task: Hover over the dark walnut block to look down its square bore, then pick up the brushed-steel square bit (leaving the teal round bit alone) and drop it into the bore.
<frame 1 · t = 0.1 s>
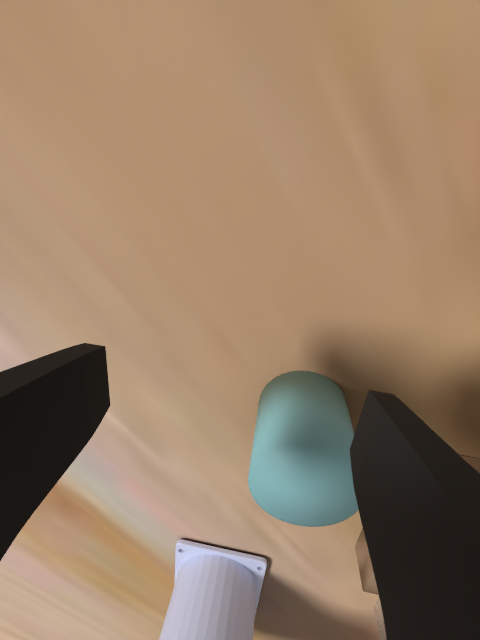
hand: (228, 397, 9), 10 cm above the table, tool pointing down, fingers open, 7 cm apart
walnut bore block: (453, 516, 22), on the table
round bit: (301, 407, 21), on the table
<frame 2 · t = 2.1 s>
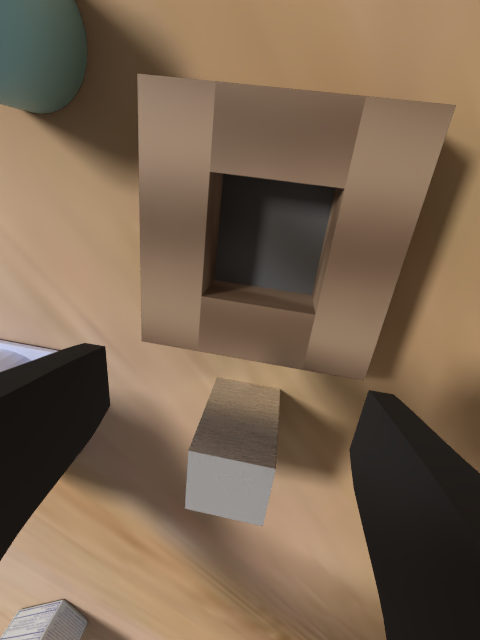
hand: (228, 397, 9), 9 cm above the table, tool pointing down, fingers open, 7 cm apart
walnut bore block: (270, 236, 16), on the table
medicine box: (55, 611, 36), on the table
round bit: (28, 39, 14), on the table
square bit: (244, 408, 21), on the table
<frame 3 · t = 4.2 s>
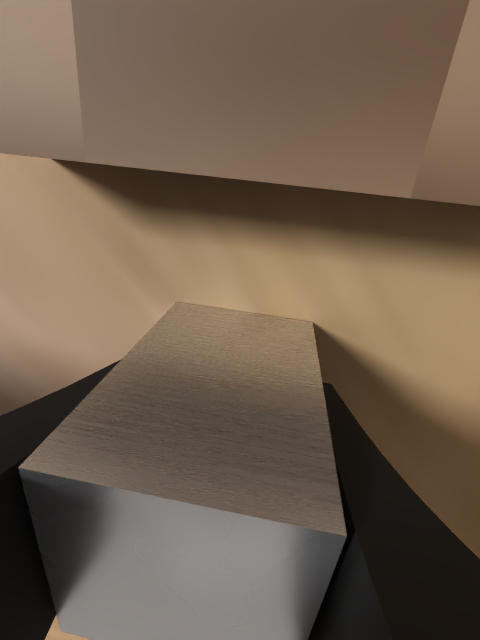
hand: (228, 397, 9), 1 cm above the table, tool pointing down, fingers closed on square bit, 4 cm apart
square bit: (236, 369, 10), on the table, touching gripper
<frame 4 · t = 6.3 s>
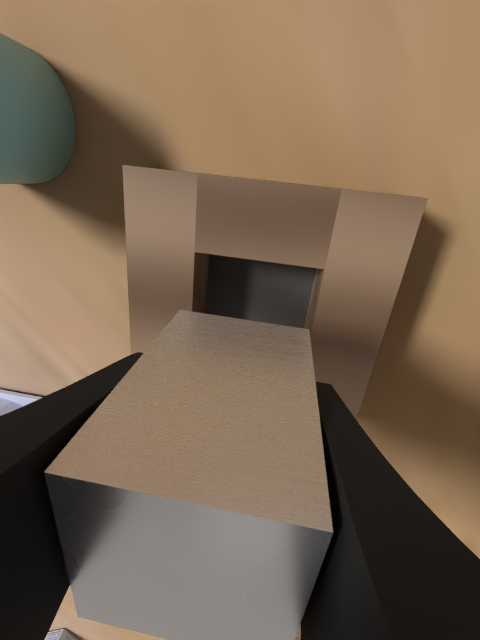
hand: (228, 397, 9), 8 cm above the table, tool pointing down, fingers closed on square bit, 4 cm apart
walnut bore block: (257, 297, 16), on the table
medicine box: (56, 638, 37), on the table
round bit: (18, 117, 15), on the table
square bit: (237, 373, 10), point 7 cm above the table, touching gripper
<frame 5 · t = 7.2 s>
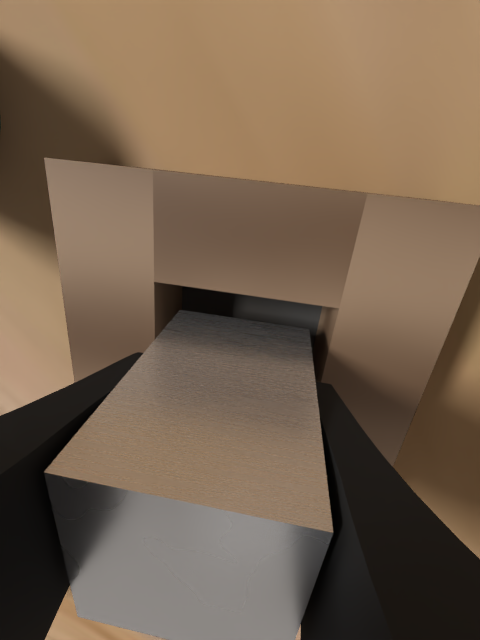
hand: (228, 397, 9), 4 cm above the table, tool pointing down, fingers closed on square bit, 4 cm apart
walnut bore block: (247, 332, 13), on the table
square bit: (237, 373, 10), point 2 cm above the table, touching gripper
when the fingers open (4 cm above the table, at t = 8.2 s): square bit drops 1 cm, resting on walnut bore block.
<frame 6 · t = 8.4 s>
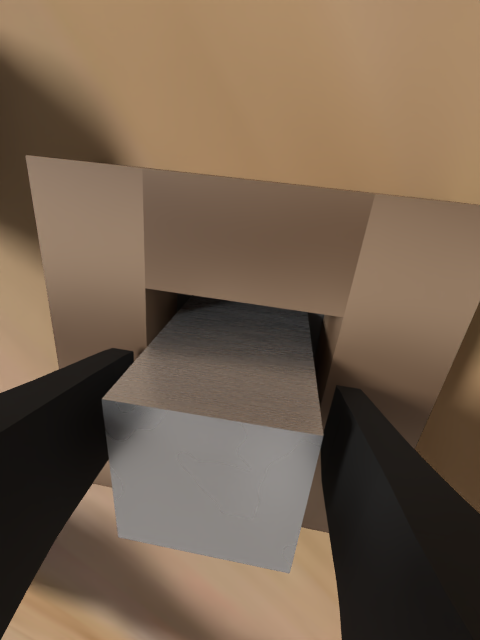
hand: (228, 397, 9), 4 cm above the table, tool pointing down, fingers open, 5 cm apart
walnut bore block: (245, 339, 12), on the table
square bit: (244, 351, 12), resting on walnut bore block
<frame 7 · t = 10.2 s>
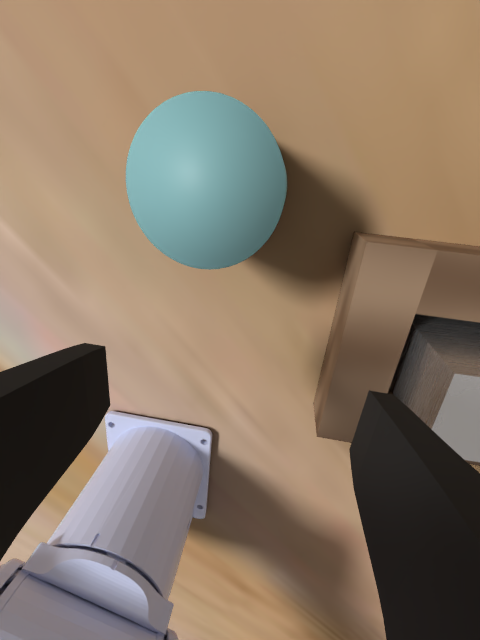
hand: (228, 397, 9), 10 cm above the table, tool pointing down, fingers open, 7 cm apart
walnut bore block: (429, 342, 18), on the table
round bit: (232, 187, 16), on the table
square bit: (429, 350, 18), resting on walnut bore block
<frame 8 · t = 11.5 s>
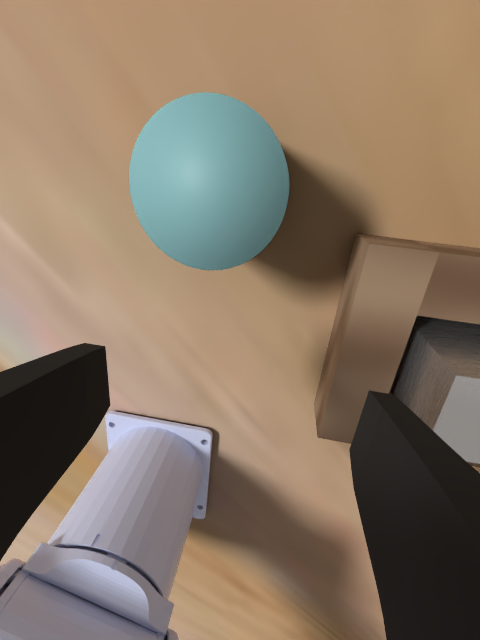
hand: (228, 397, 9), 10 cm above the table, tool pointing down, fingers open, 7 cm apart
walnut bore block: (430, 343, 18), on the table
round bit: (234, 187, 16), on the table
square bit: (430, 351, 18), resting on walnut bore block
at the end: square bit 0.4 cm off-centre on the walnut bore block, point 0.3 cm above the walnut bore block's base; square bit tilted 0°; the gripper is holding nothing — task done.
